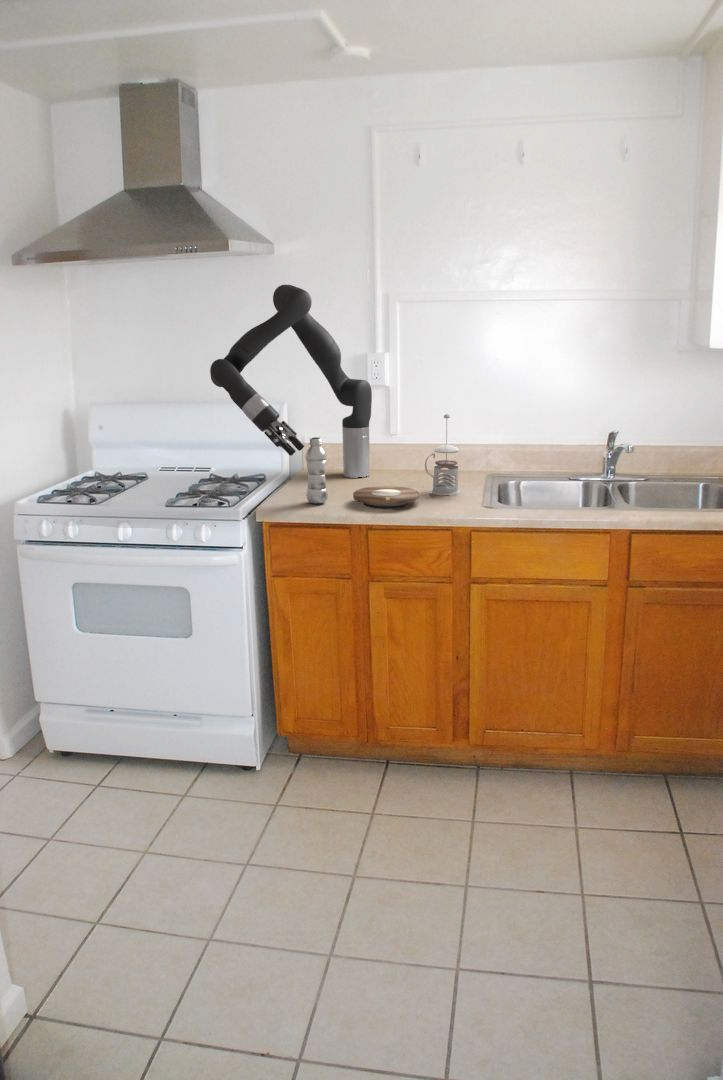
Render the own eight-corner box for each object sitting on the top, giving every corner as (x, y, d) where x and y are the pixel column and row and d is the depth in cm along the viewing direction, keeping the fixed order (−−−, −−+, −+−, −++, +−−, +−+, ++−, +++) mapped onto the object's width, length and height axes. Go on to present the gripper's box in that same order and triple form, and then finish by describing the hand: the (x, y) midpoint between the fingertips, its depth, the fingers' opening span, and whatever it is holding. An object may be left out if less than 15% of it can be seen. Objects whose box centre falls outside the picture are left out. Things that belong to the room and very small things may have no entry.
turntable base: (362, 498, 276) (362, 492, 276) (407, 497, 277) (407, 492, 276) (363, 509, 263) (363, 503, 262) (411, 508, 263) (411, 502, 263)
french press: (459, 496, 278) (461, 416, 271) (422, 494, 280) (423, 415, 273) (462, 489, 287) (464, 412, 280) (426, 488, 289) (427, 411, 282)
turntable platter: (352, 490, 278) (352, 486, 278) (416, 489, 279) (416, 484, 279) (354, 505, 259) (353, 500, 259) (422, 504, 260) (422, 499, 259)
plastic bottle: (323, 499, 275) (322, 435, 270) (330, 504, 269) (329, 439, 264) (303, 501, 273) (301, 437, 267) (310, 506, 267) (308, 440, 261)
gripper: (260, 407, 259) (299, 446, 260) (276, 400, 273) (312, 438, 273) (244, 424, 262) (282, 464, 263) (260, 417, 275) (296, 455, 276)
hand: (297, 451), depth 268 cm, fingers open, 8 cm apart
